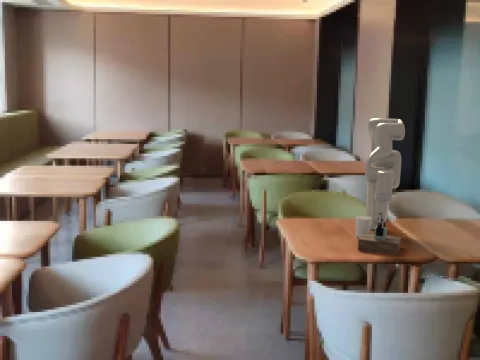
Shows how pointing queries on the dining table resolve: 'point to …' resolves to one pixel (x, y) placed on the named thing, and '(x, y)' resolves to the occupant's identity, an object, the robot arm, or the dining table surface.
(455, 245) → the dining table surface
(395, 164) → the robot arm
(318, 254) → the dining table surface
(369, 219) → the white cup
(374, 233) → the teal block
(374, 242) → the walnut riser
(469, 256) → the dining table surface
